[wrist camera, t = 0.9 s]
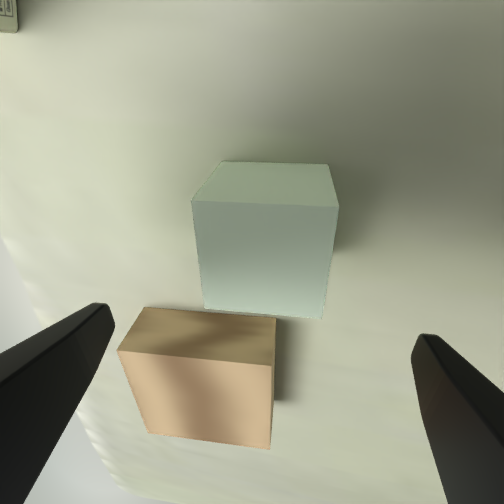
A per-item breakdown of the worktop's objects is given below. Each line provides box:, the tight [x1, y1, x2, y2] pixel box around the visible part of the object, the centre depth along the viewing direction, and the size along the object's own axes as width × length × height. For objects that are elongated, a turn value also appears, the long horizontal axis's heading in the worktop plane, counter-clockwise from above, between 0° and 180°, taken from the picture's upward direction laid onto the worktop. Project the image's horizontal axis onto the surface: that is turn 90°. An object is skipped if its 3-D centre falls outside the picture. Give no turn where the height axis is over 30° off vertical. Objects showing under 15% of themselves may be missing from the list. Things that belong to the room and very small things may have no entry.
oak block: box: [117, 307, 276, 450], centre depth 21 cm, size 9×9×4 cm
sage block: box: [191, 161, 339, 319], centre depth 14 cm, size 5×5×5 cm
